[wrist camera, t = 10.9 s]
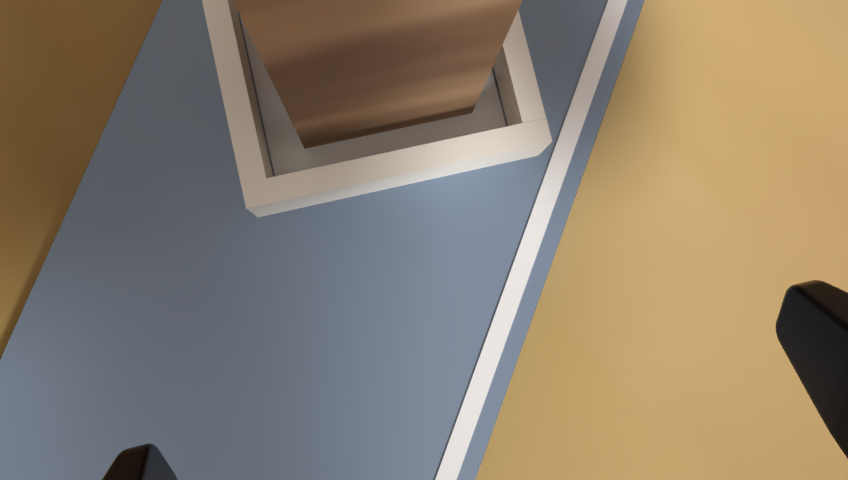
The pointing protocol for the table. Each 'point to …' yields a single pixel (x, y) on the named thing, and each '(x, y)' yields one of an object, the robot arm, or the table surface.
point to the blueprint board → (301, 265)
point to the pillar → (375, 60)
